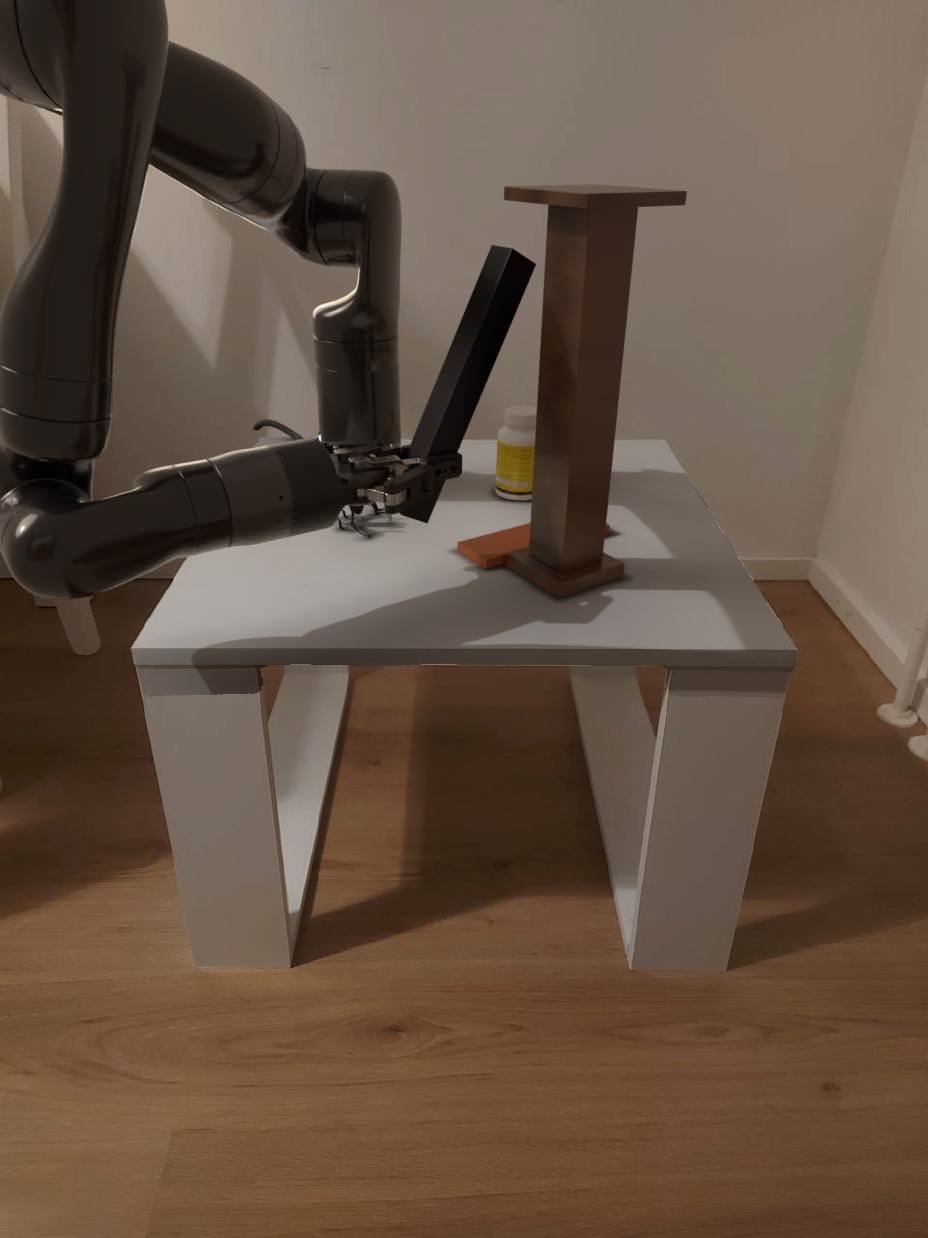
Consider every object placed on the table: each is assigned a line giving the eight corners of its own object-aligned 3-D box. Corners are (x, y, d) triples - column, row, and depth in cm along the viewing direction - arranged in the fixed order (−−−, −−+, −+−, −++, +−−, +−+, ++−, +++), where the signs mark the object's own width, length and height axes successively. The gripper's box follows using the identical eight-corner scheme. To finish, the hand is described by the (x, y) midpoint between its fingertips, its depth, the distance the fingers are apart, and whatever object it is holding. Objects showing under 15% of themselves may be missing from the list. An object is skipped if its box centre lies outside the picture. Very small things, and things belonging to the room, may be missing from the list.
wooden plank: (457, 550, 87) (457, 541, 87) (578, 518, 95) (578, 509, 95) (486, 569, 83) (486, 560, 83) (609, 533, 91) (610, 524, 91)
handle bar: (385, 504, 79) (402, 515, 76) (491, 244, 74) (512, 247, 72) (410, 513, 81) (427, 523, 78) (515, 259, 76) (536, 263, 74)
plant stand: (491, 565, 84) (503, 185, 68) (570, 542, 89) (599, 184, 73) (557, 606, 77) (588, 193, 61) (638, 579, 82) (687, 190, 66)
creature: (392, 519, 97) (321, 503, 96) (402, 475, 94) (329, 458, 93) (385, 549, 90) (309, 531, 89) (395, 501, 87) (317, 483, 86)
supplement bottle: (538, 503, 99) (543, 418, 94) (491, 499, 99) (494, 415, 95) (544, 487, 103) (549, 405, 98) (499, 483, 104) (502, 402, 99)
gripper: (304, 473, 63) (496, 436, 72) (232, 425, 73) (408, 398, 82) (311, 567, 67) (493, 521, 75) (241, 509, 77) (409, 474, 85)
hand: (447, 457), depth 79 cm, fingers closed on handle bar, 3 cm apart
